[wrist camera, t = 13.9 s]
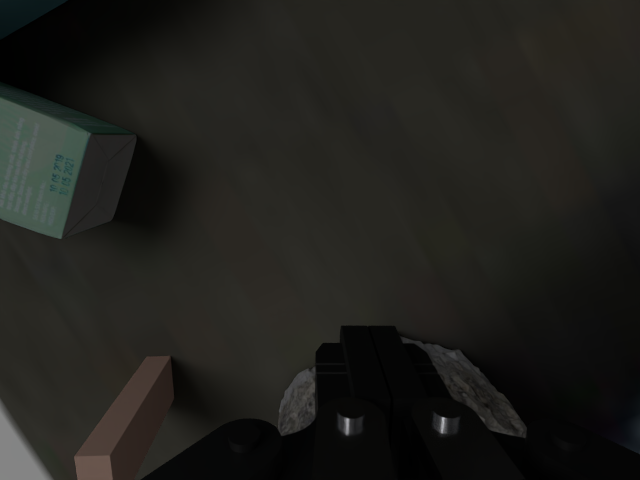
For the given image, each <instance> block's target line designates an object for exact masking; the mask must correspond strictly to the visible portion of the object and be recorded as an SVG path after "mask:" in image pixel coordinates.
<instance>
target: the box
mask: <svg viewBox="0 0 640 480" xmlns="http://www.w3.org/2000/svg"><path fill="white" fill-rule="evenodd" d="M136 141H137V136H136V134H134V133H132V132H130V131H128V130H125V129H123V128H121V127H118V126H116V125H113V124H110V123H108V122H105V121H102V120H100V119H97V118H95V117H92V116H89V115H87V114H84V113H82V112H79V111H76V110H74V109H71V108H69V107H66V106H63V105H61V104H58V103H55V102H53V101H50V100H48V99H45V98H42V97H40V96H37V95H35V94H32V93H29V92H27V91H24V90H22V89H19V88H16V87H14V86H11V85H8V84H5V83H3V82H0V219H3V220H5V221H8V222H11V223H13V224H16V225H19V226H22V227H25V228H27V229H30V230H33V231H36V232H39V233H42V234H45V235H48V236H52V237H55V238H59V239H65V238H67V237H70V236H72V235H75V234H77V233H79V232H82V231H85V230H88V229H91V228H93V227H96V226H99V225H102V224H105V223H107V222H110V221H111V220H112V218H113V217H114V214H115V211H116V208H117V205H118V202H119V199H120V195H121V192H122V189H123V186H124V183H125V179H126V176H127V173H128V170H129V167H130V164H131V160H132V156H133V153H134V149H135V145H136Z"/></svg>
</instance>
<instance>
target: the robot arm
mask: <svg viewBox="0 0 640 480" xmlns="http://www.w3.org/2000/svg"><path fill="white" fill-rule="evenodd" d="M141 480H640V454H638V453H636V452H634V451H631V450H629V449H627V448H625V447H623V446H621V445H619V444H616V443H614V442H612V441H610V440H608V439H606V438H604V437H602V436H599V435H597V434H595V433H593V432H591V431H589V430H587V429H585V428H582V427H580V426H578V425H575V424H573V423H570V422H566V421H562V420H557V419H539V420H535V421H533V422H531V423H530V424H529V425H528V427H527V431H526V437H525V438H523V437H518V436H513V435H508V434H503V433H499V432H495V431H491V430H489V429H488V428H487V426H486V425H485V424H484V422H483V421H482V419H481V418H480V417H479V415H478V414H477V413H476V412H475V411H474V410H473V409H471V408H470V407H468V406H467V405H465V404H463V403H461V402H458V401H456V400H453V398H452V396H451V395H450V393H449V391H448V389H447V388H446V386H445V384H444V382H443V380H442V379H441V377H440V375H439V374H438V371H437V370H436V368H435V366H434V365H433V363H432V361H431V359H430V357H429V355H428V354H427V352H426V351H424V350H423V349H421V348H420V347H419V346H417V345H416V344H415V343H403V342H402V340H401V338H400V336H399V334H398V332H397V329H396V327H395V326H368V327H367V326H341V329H340V343H322V345H321V346H320V347H319V349H318V350H317V351H316V362H315V420H314V421H313V422H312V423H311V424H310V425H308V426H307V427H306V428H304V429H302V430H300V431H298V432H295V433H291V434H288V435H283V436H281V434H280V432H279V430H278V429H277V428H276V427H275V426H274V425H272V424H271V423H269V422H266V421H263V420H259V419H239V420H235V421H231V422H229V423H226V424H224V425H222V426H221V427H219V428H217V429H216V430H214V431H213V432H211V433H210V434H208V435H207V436H205V437H204V438H202V439H201V440H199V441H198V442H196V443H195V444H193V445H192V446H190V447H189V448H187V449H186V450H184V451H183V452H181V453H180V454H178V455H177V456H175V457H174V458H172V459H171V460H169V461H168V462H166V463H165V464H163V465H162V466H160V467H159V468H157V469H156V470H154V471H153V472H151V473H150V474H148V475H147V476H145V477H144V478H142V479H141Z"/></svg>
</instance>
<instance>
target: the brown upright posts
mask: <svg viewBox="0 0 640 480" xmlns="http://www.w3.org/2000/svg"><path fill="white" fill-rule="evenodd" d="M173 400H174V389H173V377H172V366H171V356H154V357H146V358H145V360H144V361H143V363H142V364H141V365H140V367H139V368H138V369H137V371H136V372H135V374H134V375H133V376H132V378H131V379H130V381H129V382H128V383H127V385H126V386H125V387H124V389H123V390H122V392H121V393H120V394H119V396H118V397H117V398H116V400H115V401H114V403H113V404H112V405H111V407H110V408H109V409H108V411H107V412H106V414H105V415H104V416H103V418H102V419H101V421H100V422H99V423H98V425H97V426H96V427H95V429H94V430H93V432H92V433H91V434H90V436H89V437H88V438H87V440H86V441H85V443H84V444H83V445H82V447H81V448H80V450H79V451H78V452H77V454H76V455H75V456H74V458H75V464H76V471H77V478H78V480H134V478H135V476H136V474H137V472H138V470H139V468H140V466H141V464H142V462H143V460H144V458H145V456H146V454H147V452H148V450H149V448H150V446H151V444H152V442H153V440H154V438H155V436H156V434H157V432H158V430H159V428H160V426H161V424H162V422H163V420H164V418H165V416H166V414H167V412H168V410H169V408H170V406H171V404H172V402H173Z"/></svg>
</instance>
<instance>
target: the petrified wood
mask: <svg viewBox="0 0 640 480" xmlns="http://www.w3.org/2000/svg"><path fill="white" fill-rule="evenodd" d="M399 336H400V335H399ZM400 338H401V340H402V342H403V343H415V344H416V345H417V346H419V347H420V348H421V349H423V350H424V351H426V352H427V354H428V355H429V357H430V359H431V361H432V363H433V365H434V366H435V368H436V370H437V371H438V374H439V375H440V377H441V379H442V380H443V382H444V384H445V386H446V388H447V389H448V391H449V393H450V395H451V396H452V398H453V400H456V401H458V402H461V403H463V404H465V405H467V406H468V407H470V408H471V409H473V410H474V411H475V412H476V413H477V414H478V415H479V417H480V418H481V419H482V421H483V422H484V424H485V425H486V426H487V428H488V429H489V430H491V431H495V432H499V433H503V434H508V435H513V436H518V437H523V438H525V437H526V431H527V427H526V426H525V424H524V423H523V421H522V420H521V419H520V417H519V416H518V415H517V413H516V411H515V410H514V408H513V407H512V405H511V404H510V402H509V401H508V400H507V398H506V397H505V396H504V394H502V393H499V392H498V391H497V390H496V388H495V387H494V386H492V385H491V384H490V382H489V380H488V379H487V378H486V377H485V376H484V374H483V373H481V372H480V370H479V368H477V367H475V366H473V364H472V363H471V362H470V361H469V360H468V359H467V358H466V357H465V356H464V355H463V354H462V352H461V351H460V350H459V349H457V350H449V349H445V348H443V347H441V346H439V345H438V344H435V345H432V344H423V343H422V342H421V341H413V340H410V339H407V338H405V337H402V336H400ZM279 412H280V415H279V422H278V430H279V432H280V434H281V436H283V435H288V434H291V433H295V432H298V431H300V430H302V429H304V428H306V427H307V426H308V425H310V424H311V423H312V422H313V421H314V420H315V367H314V368H312V369H309V368H308V369H306V370H304V371H302V372H300V373H298V374H297V376H296V377H295V378H294V380H293V382H292V383H291V385H290V386H289V387H288V388H287V389H286V390H285V394H284V398H283V399H282V400H281V405H280V409H279Z"/></svg>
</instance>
